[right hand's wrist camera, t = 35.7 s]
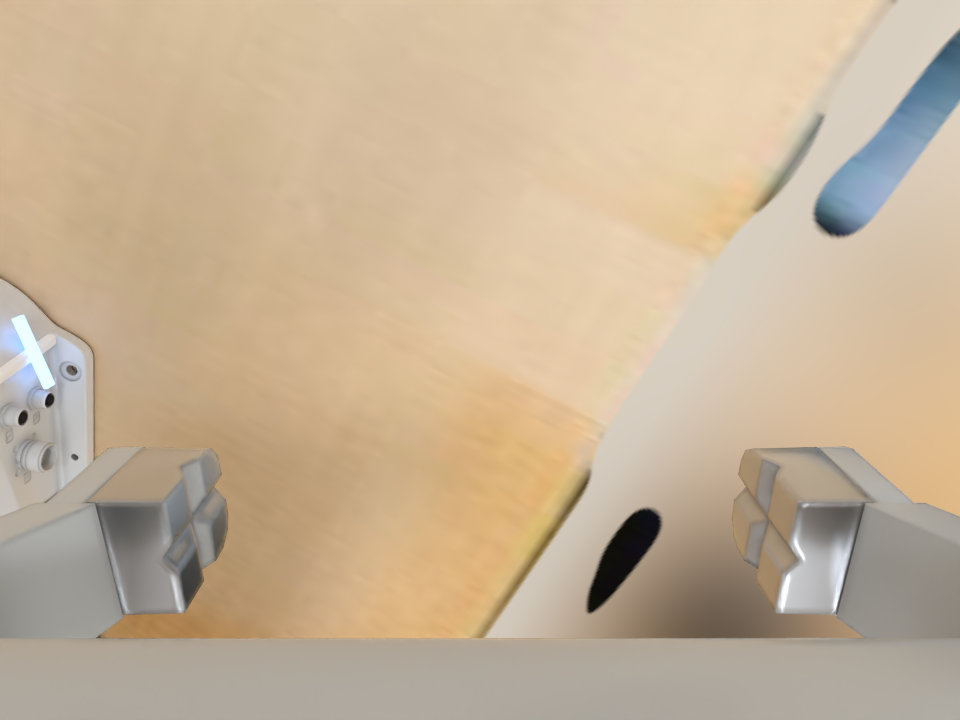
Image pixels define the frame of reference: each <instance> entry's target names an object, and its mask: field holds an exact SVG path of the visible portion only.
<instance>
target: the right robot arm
mask: <svg viewBox="0 0 960 720" xmlns="http://www.w3.org/2000/svg"><path fill="white" fill-rule="evenodd" d="M72 366H74V367H76V369H77V372H76V371H74V370H73V369H72ZM221 475H222V474H221V469H220V464H219V459H218V455H217V454H216V453H215V452H214V451H213V449H211V448H157V447H149V448H146V447H116V448H108V449H107V450H105V451H104V452H103V453H102V454H101V455H100V456H99V457H98V458H96V459H95V460H94V385H93V353H92V350H91V349H90V347H89V346H88V345H87V344H86V343H85V342H84V341H82V340H81V339H79V338H78V337H76V336H75V335H73V334H71V333H69V332H67V331H66V330H64V329H62V328H60V327H58V326H57V325H56V324H54V323H53V322H52V321H51V320H50V319H49V318H48V317H47V316H46V315H45V314H44V313H43V312H42V311H41V309H40V308H39V307H38V306H37V305H36V304H35V303H34V302H33V301H32V300H31V299H30V298H28V297H27V296H26V295H25V294H24V293H22V292H21V291H20V290H19V289H17V288H16V287H14V286H13V285H11V284H10V283H8V282H6V281H5V280H3V279H1V278H0V720H960V517H959V516H957V515H954V514H951V513H949V512H946V511H944V510H941V509H939V508H936V507H934V506H931V505H929V504H926V503H914V502H912V501H911V500H910V499H909V498H908V497H907V496H906V495H904V494H903V493H902V492H901V491H900V490H899V489H898V488H897V487H895V486H894V485H893V484H892V483H891V482H890V481H889V480H888V479H886V478H885V477H884V476H883V475H882V474H881V473H880V472H878V471H877V470H876V469H875V468H874V467H873V466H872V465H871V464H869V463H868V462H867V461H866V460H865V459H864V458H863V457H862V456H860V455H859V454H858V453H857V452H856V451H855V450H854V449H851V448H848V447H844V446H843V447H822V448H817V447H804V448H803V447H802V448H760V449H749V450H745V452H744V454H743V457H742V459H741V463H740V468H739V476H740V478H741V479H742V481H743V482H744V484H745V486H746V488H745V489H744V490H743V491H742V492H741V493H740V494H739V495H738V496H737V497H736V498H735V499H734V505H733V513H732V526H733V536H734V539H735V543H736V546H737V549H738V551H739V552H740V554H741V556H742V558H743V559H744V561H746V562H748V563H749V564H751V565H753V566H754V567H756V568H757V569H758V573H757V578H756V581H757V583H758V585H759V586H760V588H761V590H762V591H763V593H764V595H765V596H766V598H767V600H768V601H769V603H770V605H771V606H772V608H773V609H774V611H775V613H790V614H827V615H837V618H838V619H839V620H841V621H842V622H843V623H845V624H846V625H847V626H849V627H850V628H852V629H853V630H854V631H856V632H857V633H858V634H860V635H861V636H862V637H864V638H98V636H99V635H101V634H102V633H103V632H105V631H106V630H107V629H109V628H110V627H111V626H113V625H114V624H115V623H117V622H118V621H120V620H121V619H122V618H123V615H133V614H169V613H185V611H186V610H187V608H188V606H189V605H190V603H191V601H192V600H193V598H194V596H195V595H196V593H197V591H198V590H199V588H200V586H201V585H202V583H203V581H204V578H203V572H202V569H203V568H204V567H206V566H208V565H209V564H211V563H212V562H214V561H216V559H217V558H218V556H219V554H220V552H221V550H222V549H223V546H224V542H225V538H226V534H227V530H228V511H227V504H226V499H225V498H224V497H223V496H222V495H221V494H220V493H219V492H218V491H217V490H216V489H215V488H214V486H215V484H216V483H217V481H218V479H219V478H220V476H221Z"/></svg>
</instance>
